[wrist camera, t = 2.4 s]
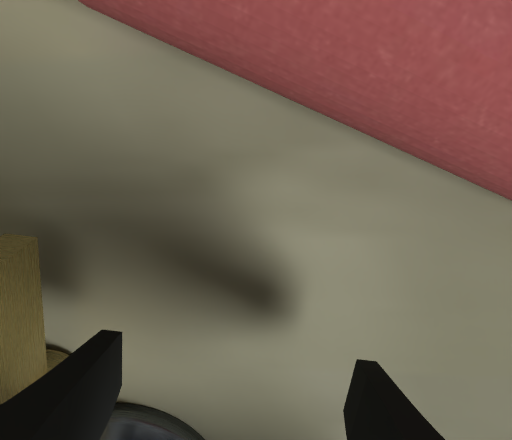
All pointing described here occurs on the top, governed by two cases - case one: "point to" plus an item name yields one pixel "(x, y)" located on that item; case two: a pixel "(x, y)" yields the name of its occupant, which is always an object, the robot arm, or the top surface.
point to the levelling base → (145, 425)
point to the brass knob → (22, 317)
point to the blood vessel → (365, 66)
